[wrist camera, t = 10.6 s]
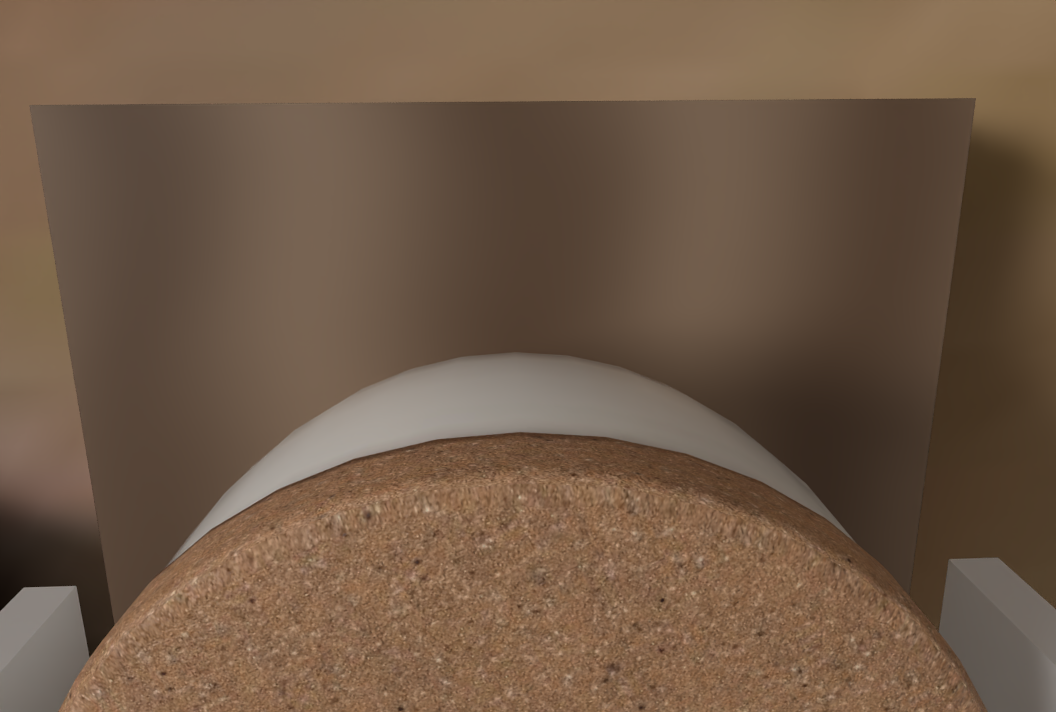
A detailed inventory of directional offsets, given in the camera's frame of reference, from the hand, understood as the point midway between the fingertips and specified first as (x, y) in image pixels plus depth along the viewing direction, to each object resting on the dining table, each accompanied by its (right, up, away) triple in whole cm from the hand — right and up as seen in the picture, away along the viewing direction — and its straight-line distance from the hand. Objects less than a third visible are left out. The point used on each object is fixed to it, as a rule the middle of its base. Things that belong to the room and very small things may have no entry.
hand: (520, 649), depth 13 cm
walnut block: (0, +2, +8) cm, 9 cm away
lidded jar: (0, +1, +4) cm, 4 cm away
